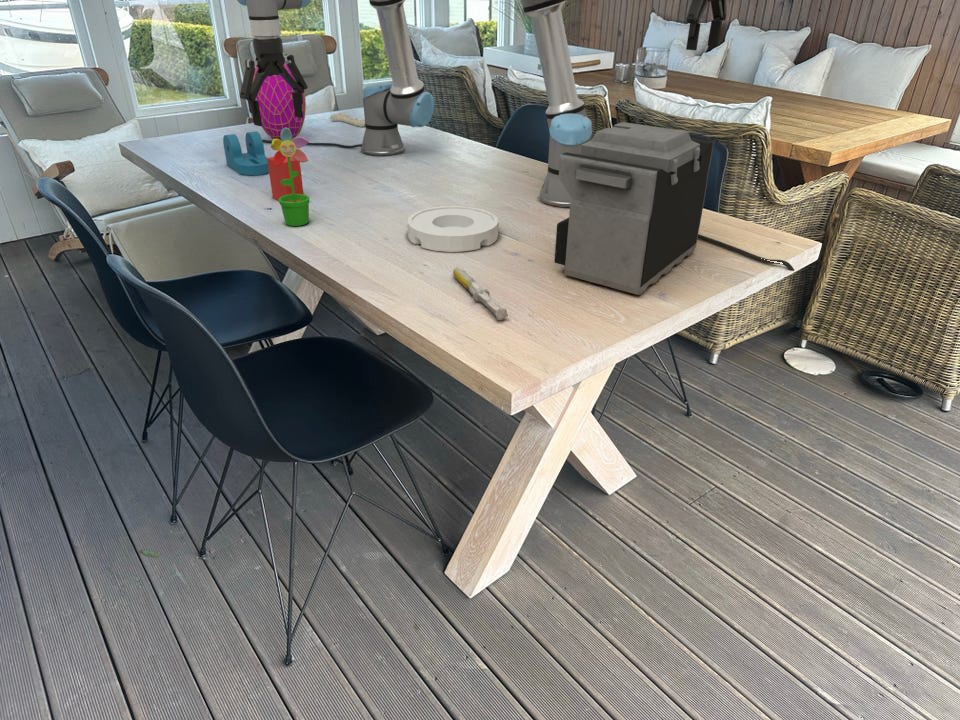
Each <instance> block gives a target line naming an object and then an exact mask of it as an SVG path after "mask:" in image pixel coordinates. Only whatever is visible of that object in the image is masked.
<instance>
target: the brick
mask: <svg viewBox="0 0 960 720" xmlns="http://www.w3.org/2000/svg"><path fill="white" fill-rule="evenodd" d="M266 158H267V162H268V169H269V173H268V175H269V181H270V189H271V196H272V199H274V200H277V201H279V198H280V197H282V196H285V195H290V194H292V188H291V186H284V185H282V184H281V181H282V180H283V179H290V173H289V165H288V158H287V157H286V159H285V161H284V162H283V163H282V164H281V165H278V166H276V165H275V163H274V159H273V158H274V156H271V157H266ZM290 160H291V168H292V172H294V171H297V172H299V174H298V175H297V176H296V177H294V178H293V183H294V191H295V194H304V195H305V193H304V185H303V176H302V169H301V162H298V161H296V160H295V159H293V158H292V157H290Z"/></svg>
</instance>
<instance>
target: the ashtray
mask: <svg viewBox="0 0 960 720" xmlns="http://www.w3.org/2000/svg"><path fill="white" fill-rule="evenodd" d="M407 238H408V240H409V241H410V242H411V243H412V244H414V245H420V247H421V249H422V248H423V249H425V250H430V251H436V252H444V253H445V252H447V253H456V252H457V253H458V252H460V253H461V252H470V251H477V250H479V249H481V246H486V247H487V246H490V245H492V244H494V243H495V242H496V241H497V240H498V238H499V218H498V216H497V215H495V214H494V213H492V212H491V211H488V210H487V209H482V208H478V207H472V206H465V205H441V206H433V207H428V208H424V209H421V210H418V211H415V212H413V213H412V214H411V215H409V217H408V218H407Z"/></svg>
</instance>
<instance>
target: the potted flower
mask: <svg viewBox="0 0 960 720" xmlns="http://www.w3.org/2000/svg"><path fill="white" fill-rule="evenodd" d="M280 136H281V140H282V141H281V140H279V139H273V138H272V140H271V141H272V143H270V144H271V145H270V148H271V149H272V150H274V151H275V153H274V155H273V157H274V158H273V159H274V163H275V165H276V166H278V165H281V164H282V163H283V162H284V161H285V159H286V157H287V158H288V165H289V173H290V179H283V180H282V181H281V184H282V185H284V186H291V188H292V194H290V195H285V196H282V197H280V198H279V200H278V202H279V205H280V207H281V210H282V215H283V219H284V223H285V225H287V226H290V227H291V226H292V227H301V226H304V225H306V224H309V222H310V206H309V205H310V196H309V195H307V194H305V193H304V194H295V191H294V183H293V178H294V177H296V176H297V175H298V174H299V172H297V171H294V172H292V168H291V160H290V157H292V158H293V159H295V160H296V161H298V162H300V163H307V162H309V158H308V156H307V155H306V153H305V152H303V150H301V148H303V147H305V146H307V145H306V144H307V143H310V140H308V139H307V138H306V137H303V136H299V135H298V136H296V137H295V138H293V139H292V134H291V131H290V130H289V129H288V128H284V129H283V130H282V131H281V134H280Z"/></svg>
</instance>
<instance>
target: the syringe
mask: <svg viewBox="0 0 960 720" xmlns="http://www.w3.org/2000/svg"><path fill="white" fill-rule="evenodd" d="M452 274H453V277H454V279H455V280H457V281H458V282H459V283H460V285H462V287H464V289H466V290H467V291H468V293H470V295H471V296H472V298H473V300H474V302H477V303H478V302H480V303H482V304H483V305H484V306H485V307H486V308H487V309H488V310H489V311H490V312H491V313H492V314H493V315H494V316H495V317H496V320H497V321H503V320H504V319H506V318H507V317H509V314H508V310H507V308H506V307H502V306H501V305H500V303H498V302H497V301H496V300H494V299H493V298H492V297H491V296H490V295H491V293H490V290H488V289H486V288H483V287H482V286H481V285H480V284H479V283H478V282H477V281H476V280H474V278H473V277H471V275H469V274H468V273H467V272H466V270H465V269H464V268H463V267H462V266H456V267H454V268H453V271H452Z"/></svg>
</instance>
